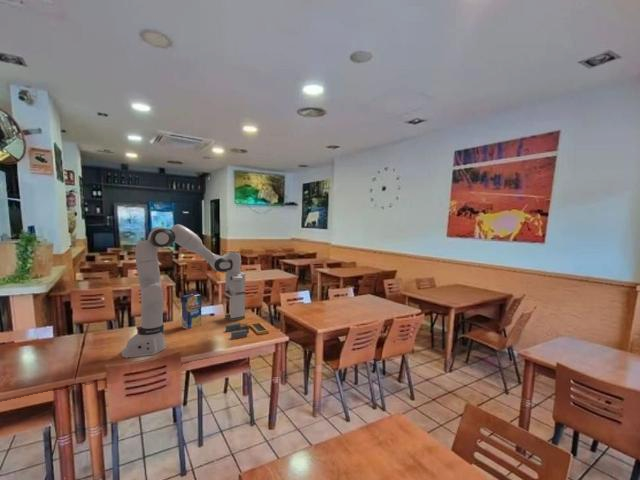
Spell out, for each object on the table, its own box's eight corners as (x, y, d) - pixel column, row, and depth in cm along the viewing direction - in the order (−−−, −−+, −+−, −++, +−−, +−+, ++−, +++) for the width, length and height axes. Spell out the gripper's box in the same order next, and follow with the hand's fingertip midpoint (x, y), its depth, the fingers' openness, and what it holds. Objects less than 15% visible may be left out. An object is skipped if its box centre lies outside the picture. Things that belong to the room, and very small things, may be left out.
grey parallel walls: (231, 338, 201) (232, 332, 201) (225, 330, 215) (225, 325, 214) (247, 336, 206) (247, 330, 206) (240, 328, 220) (240, 322, 220)
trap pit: (257, 335, 209) (257, 332, 209) (249, 326, 224) (249, 323, 224) (269, 333, 213) (269, 330, 213) (259, 324, 228) (259, 322, 228)
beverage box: (201, 324, 225) (201, 294, 223) (187, 329, 216) (187, 297, 214) (195, 322, 229) (195, 293, 227) (181, 327, 219) (181, 296, 218)
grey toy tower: (238, 314, 250) (239, 271, 247) (244, 318, 241) (245, 273, 239) (225, 317, 242) (225, 273, 240) (230, 321, 234) (231, 275, 232)
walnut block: (241, 334, 210) (241, 326, 209) (239, 331, 214) (239, 324, 214) (248, 332, 212) (248, 325, 212) (246, 330, 217) (246, 323, 216)
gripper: (225, 273, 214) (224, 293, 215) (233, 278, 196) (232, 300, 197) (234, 272, 217) (234, 292, 218) (243, 278, 199) (242, 299, 200)
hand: (233, 296), depth 207 cm, fingers closed
